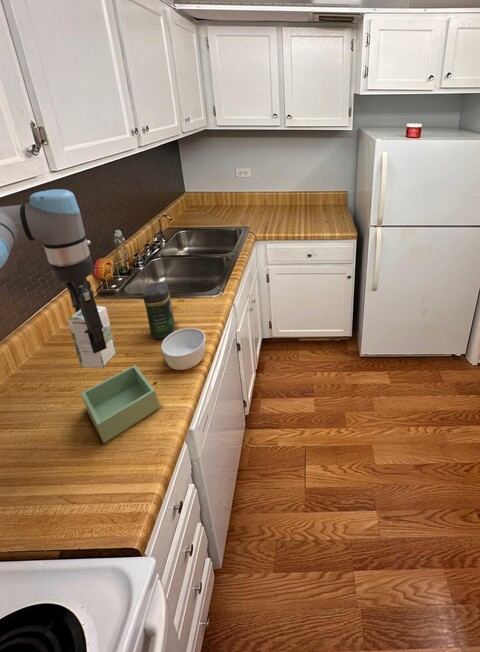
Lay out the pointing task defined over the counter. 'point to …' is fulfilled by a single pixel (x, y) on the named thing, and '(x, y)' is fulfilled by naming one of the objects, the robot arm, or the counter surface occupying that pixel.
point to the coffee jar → (159, 310)
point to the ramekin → (184, 348)
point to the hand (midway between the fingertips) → (94, 341)
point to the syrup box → (83, 342)
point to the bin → (120, 402)
